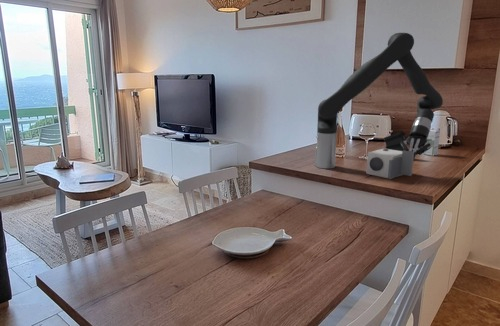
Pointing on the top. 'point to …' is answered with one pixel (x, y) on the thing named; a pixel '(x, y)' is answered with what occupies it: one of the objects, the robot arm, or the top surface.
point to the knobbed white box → (381, 161)
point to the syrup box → (433, 142)
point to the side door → (401, 165)
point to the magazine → (395, 141)
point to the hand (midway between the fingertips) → (410, 160)
